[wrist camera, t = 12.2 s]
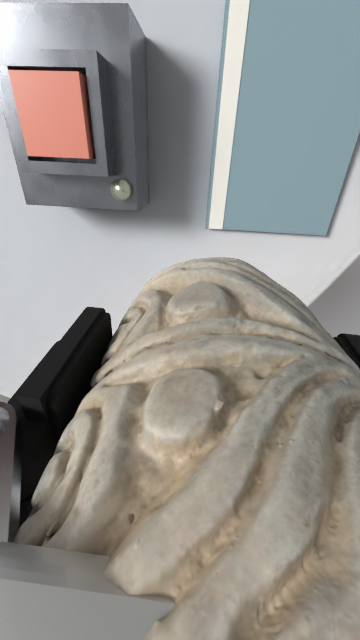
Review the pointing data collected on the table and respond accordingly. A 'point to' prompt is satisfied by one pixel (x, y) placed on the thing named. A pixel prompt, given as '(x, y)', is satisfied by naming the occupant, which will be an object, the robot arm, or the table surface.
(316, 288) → the table surface
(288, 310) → the carving
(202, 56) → the table surface
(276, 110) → the mat
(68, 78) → the button
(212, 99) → the table surface
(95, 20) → the breaker box
